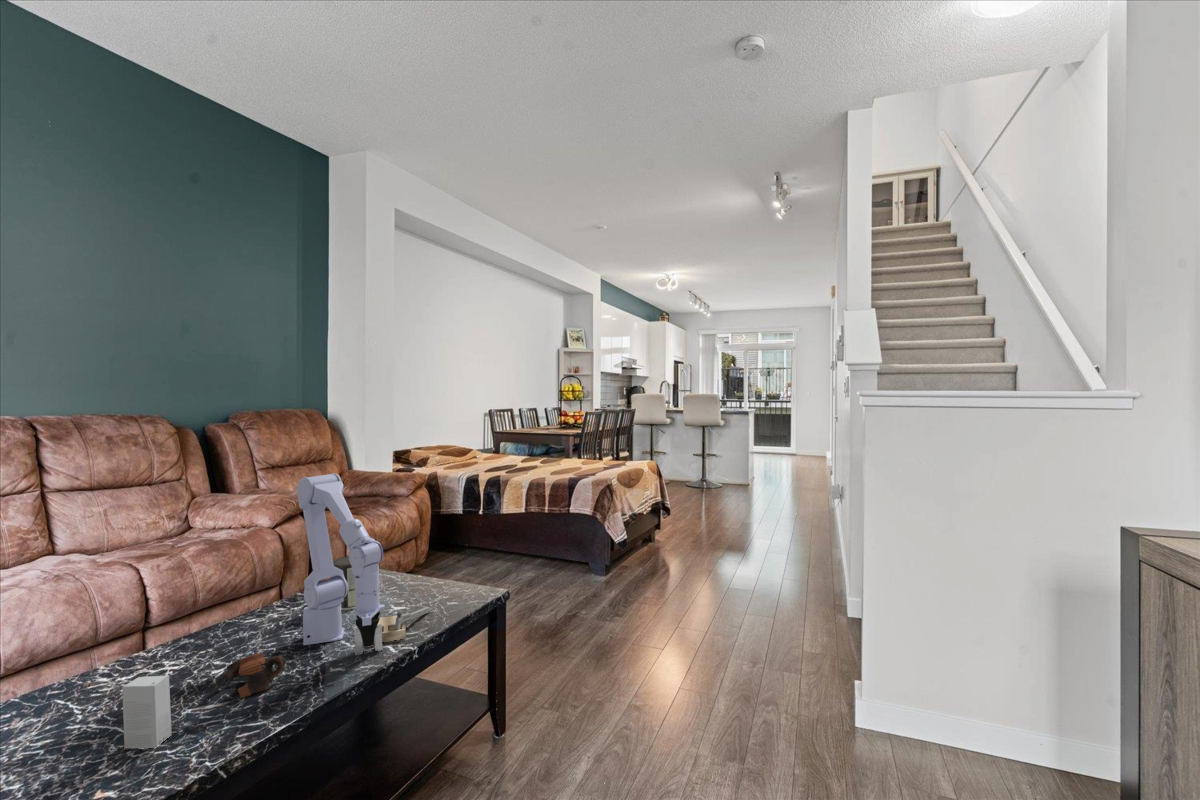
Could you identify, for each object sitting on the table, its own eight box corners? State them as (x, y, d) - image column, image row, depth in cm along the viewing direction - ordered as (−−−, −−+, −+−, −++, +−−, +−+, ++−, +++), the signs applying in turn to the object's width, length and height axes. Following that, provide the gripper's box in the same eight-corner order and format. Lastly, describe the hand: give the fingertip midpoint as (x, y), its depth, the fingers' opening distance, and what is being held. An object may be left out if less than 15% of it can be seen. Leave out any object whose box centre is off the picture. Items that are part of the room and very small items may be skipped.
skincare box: (172, 736, 112) (170, 674, 112) (156, 749, 108) (154, 685, 108) (140, 737, 112) (138, 676, 112) (122, 751, 108) (120, 687, 107)
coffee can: (329, 612, 176) (328, 566, 176) (334, 601, 186) (333, 557, 186) (366, 608, 179) (364, 562, 179) (368, 597, 189) (367, 554, 189)
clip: (355, 655, 146) (354, 631, 146) (355, 651, 148) (355, 627, 148) (382, 650, 148) (381, 627, 148) (382, 647, 150) (381, 624, 150)
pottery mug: (224, 706, 124) (216, 667, 126) (237, 705, 132) (229, 669, 135) (285, 679, 128) (276, 643, 131) (294, 680, 137) (285, 646, 139)
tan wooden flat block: (365, 645, 151) (365, 635, 151) (367, 628, 163) (367, 619, 163) (405, 639, 155) (405, 629, 155) (404, 622, 166) (404, 614, 166)
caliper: (399, 638, 155) (398, 615, 155) (395, 638, 155) (394, 614, 155) (432, 610, 175) (431, 589, 175) (428, 610, 175) (428, 589, 175)
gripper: (383, 597, 142) (385, 652, 142) (384, 580, 156) (385, 630, 156) (352, 601, 140) (354, 657, 140) (356, 583, 154) (357, 634, 154)
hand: (368, 643), depth 148 cm, fingers closed on clip, 2 cm apart
